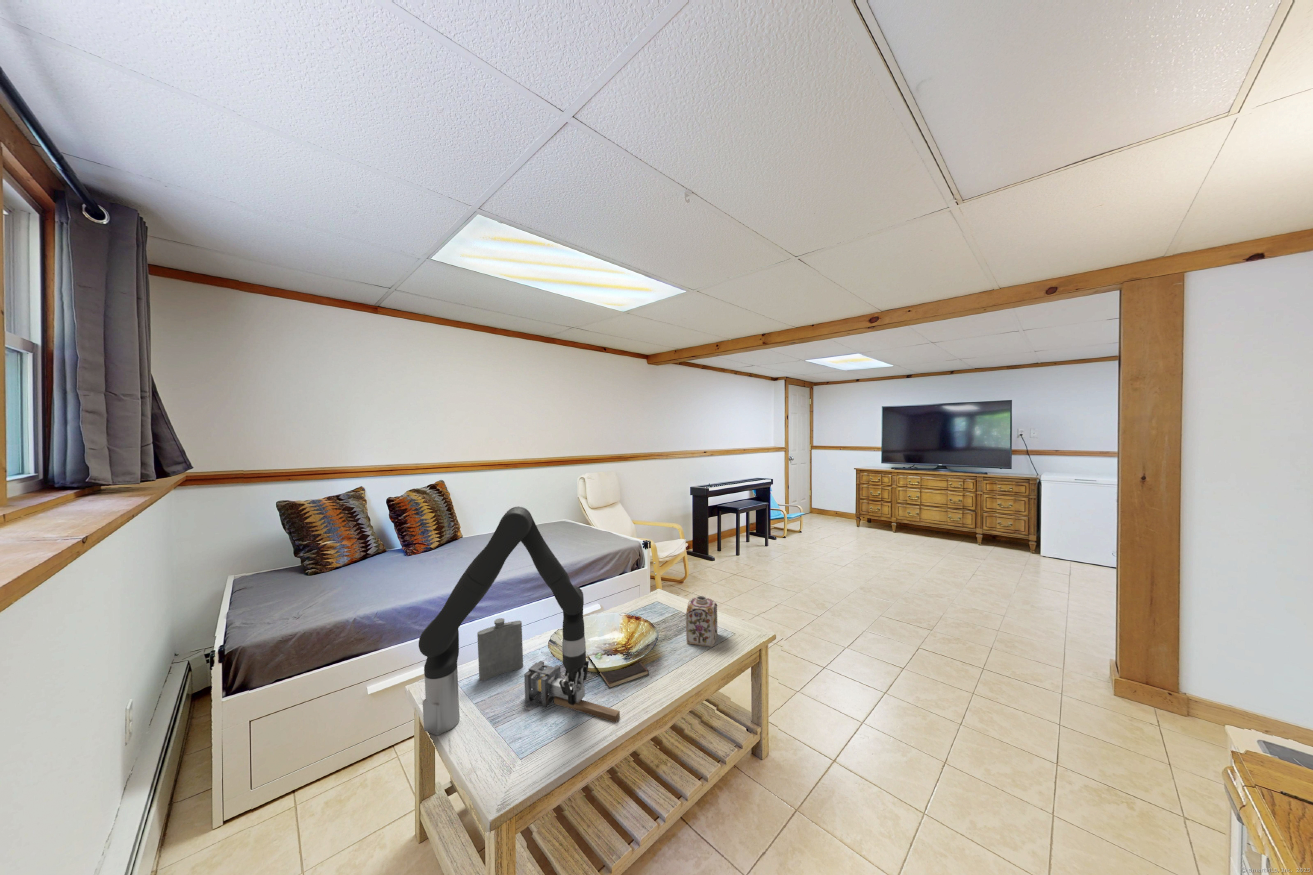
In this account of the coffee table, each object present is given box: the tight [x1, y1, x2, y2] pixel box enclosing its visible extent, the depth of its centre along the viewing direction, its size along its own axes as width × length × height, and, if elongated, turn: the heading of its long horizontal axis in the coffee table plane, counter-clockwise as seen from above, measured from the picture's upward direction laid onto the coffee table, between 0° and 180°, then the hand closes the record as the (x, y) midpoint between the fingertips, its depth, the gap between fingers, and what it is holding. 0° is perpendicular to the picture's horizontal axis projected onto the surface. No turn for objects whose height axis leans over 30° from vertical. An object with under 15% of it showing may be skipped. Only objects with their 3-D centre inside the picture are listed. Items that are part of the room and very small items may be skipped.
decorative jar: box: [685, 595, 718, 648], centre depth 179 cm, size 12×12×18 cm
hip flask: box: [476, 617, 524, 682], centre depth 159 cm, size 16×4×20 cm, turn 122°
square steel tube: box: [531, 673, 586, 703], centre depth 142 cm, size 22×4×4 cm, turn 66°
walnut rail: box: [553, 696, 621, 723], centre depth 137 cm, size 3×24×2 cm, turn 67°
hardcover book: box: [599, 661, 650, 688], centre depth 162 cm, size 16×23×2 cm
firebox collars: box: [523, 660, 562, 709], centre depth 144 cm, size 8×9×10 cm
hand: (575, 699), depth 138 cm, fingers closed on square steel tube, 3 cm apart
